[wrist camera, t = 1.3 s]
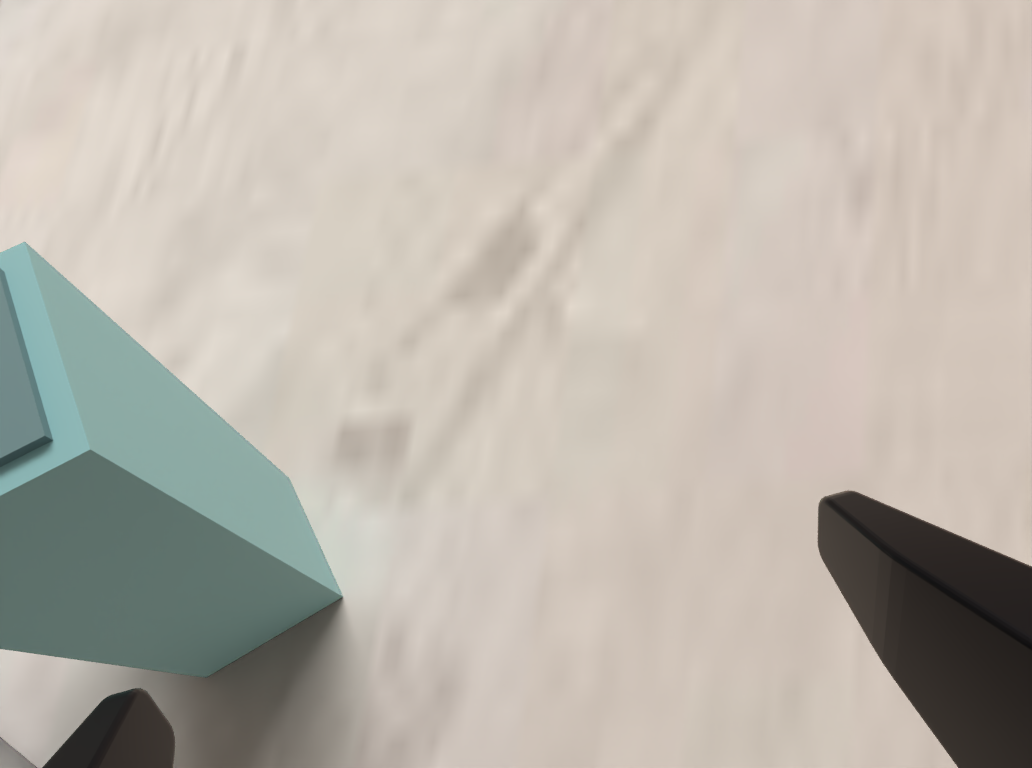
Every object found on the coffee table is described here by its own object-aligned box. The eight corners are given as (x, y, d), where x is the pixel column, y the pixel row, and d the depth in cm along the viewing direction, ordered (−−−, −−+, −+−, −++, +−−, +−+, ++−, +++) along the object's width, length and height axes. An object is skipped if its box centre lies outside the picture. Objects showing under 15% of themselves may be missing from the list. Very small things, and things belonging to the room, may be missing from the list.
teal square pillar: (343, 596, 24) (82, 444, 11) (205, 677, 23) (-248, 613, 10) (288, 477, 26) (17, 234, 13) (161, 548, 25) (-262, 360, 12)
